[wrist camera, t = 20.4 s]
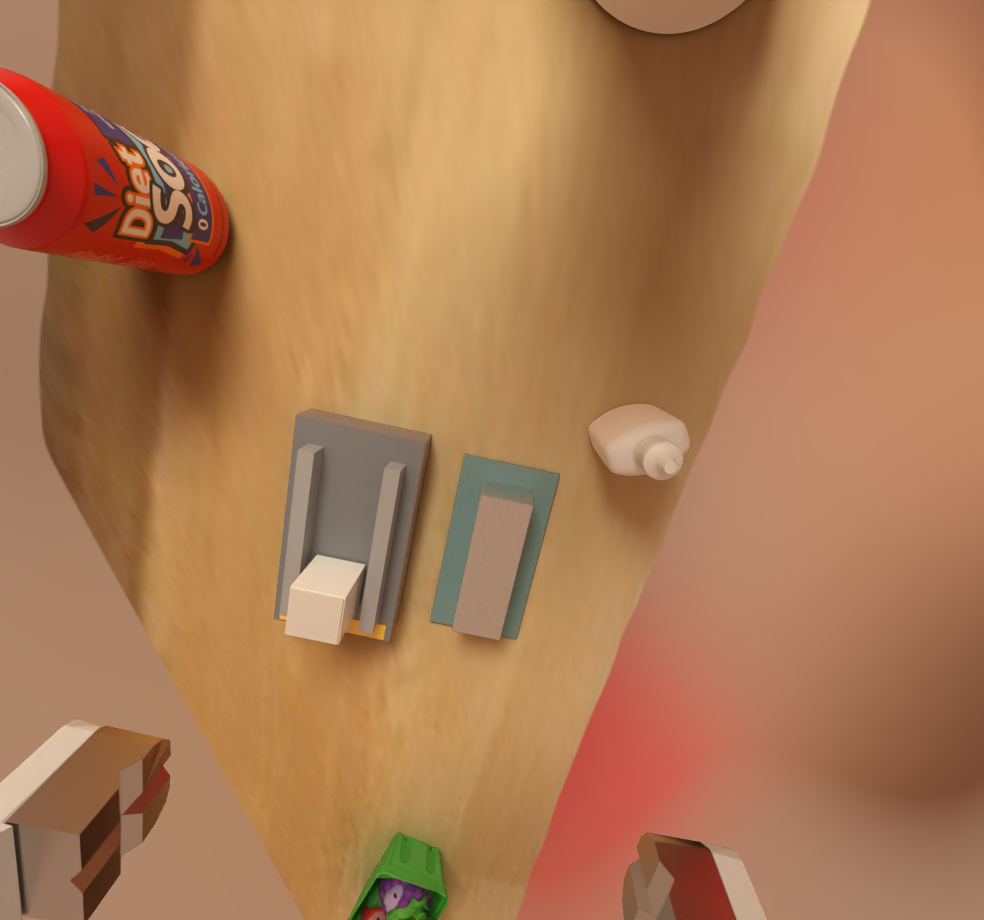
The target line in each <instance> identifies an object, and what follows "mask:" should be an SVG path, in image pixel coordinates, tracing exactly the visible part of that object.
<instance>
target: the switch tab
mask: <svg viewBox="0 0 984 920" xmlns="http://www.w3.org/2000/svg"><path fill="white" fill-rule="evenodd" d="M364 571H365V564H360V563H355V562H351V561H346V560H341V559H336V558H332V557H327V556H322V555H316V556H315V558H314V559H313V560H312V561H311V562H310V564H309V565H308V566H307V567H306V568H305V569H304V571H303V572H302V573H301V574H300V575H299V577H298V578H297V579H296V580H295V581H294V583H293V584H292V585H291V587H290V596H289V604H288V613H287V621H286V630H285V634H286V635H291V636H296V637H301V638H306V639H311V640H316V641H321V642H325V643H330V644H335V645H337V644H339V643H340V641H341V639H342V637H343V635H344V634H345V632H346V630H347V628H348V626H349V624H350V622H351V621H352V619H353V617H354V615H355V613H356V611H357V609H358V607H359V602H360V596H361V590H362V584H363V577H364Z"/></svg>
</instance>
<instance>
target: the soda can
mask: <svg viewBox="0 0 984 920" xmlns="http://www.w3.org/2000/svg"><path fill="white" fill-rule="evenodd" d="M228 233H229V218H228V212H227V208H226V205H225V202H224V200H223V197H222V195H221V193H220V192H219V190H218V188H217V187H216V185H215V184H214V183H213V181H212V180H211V179H210V178H209V177H208V176H207V175H206V174H205V173H204V172H203V171H201V170H200V169H199V168H197V167H196V166H194V165H193V164H191V163H189V162H188V161H186V160H184V159H182V158H180V157H178V156H177V155H175V154H173V153H171V152H169V151H167V150H165V149H163V148H161V147H159V146H158V145H156V144H154V143H152V142H150V141H148V140H146V139H144V138H142V137H140V136H138V135H137V134H135V133H133V132H131V131H129V130H127V129H125V128H123V127H121V126H119V125H118V124H116V123H114V122H112V121H110V120H108V119H106V118H104V117H102V116H100V115H99V114H97V113H95V112H93V111H91V110H89V109H87V108H85V107H83V106H81V105H80V104H78V103H76V102H74V101H72V100H70V99H68V98H66V97H64V96H62V95H61V94H59V93H57V92H55V91H53V90H51V89H49V88H47V87H45V86H43V85H42V84H40V83H38V82H36V81H34V80H32V79H30V78H28V77H26V76H23V75H21V74H19V73H16V72H13V71H10V70H7V69H2V68H0V243H1V244H4V245H6V246H10V247H13V248H18V249H23V250H29V251H35V252H41V253H47V254H53V255H59V256H65V257H71V258H77V259H83V260H89V261H95V262H101V263H107V264H113V265H120V266H126V267H132V268H138V269H144V270H150V271H156V272H162V273H168V274H176V275H190V274H195V273H199V272H202V271H204V270H206V269H207V268H209V267H210V266H212V265H213V264H214V263H215V262H216V261H217V260H218V258H219V257H220V256H221V254H222V252H223V250H224V248H225V246H226V243H227V239H228Z"/></svg>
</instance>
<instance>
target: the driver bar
mask: <svg viewBox="0 0 984 920" xmlns="http://www.w3.org/2000/svg"><path fill="white" fill-rule="evenodd" d="M532 509H533V501H532V494H531V489H528V488H524V487H519V486H514V485H510V484H505V483H500V482H495V481H491V480H486V479H484V481H483V485H482V490H481V494H480V499H479V504H478V508H477V513H476V517H475V522H474V526H473V531H472V536H471V540H470V545H469V549H468V554H467V558H466V563H465V568H464V572H463V577H462V581H461V586H460V590H459V595H458V600H457V604H456V610H455V615H454V620H453V626H452V631H456V632H461V633H466V634H471V635H476V636H481V637H485V638H490V639H495V640H500V636H501V632H502V628H503V624H504V620H505V616H506V612H507V608H508V604H509V600H510V596H511V592H512V588H513V584H514V580H515V577H516V573H517V569H518V565H519V561H520V557H521V553H522V549H523V545H524V541H525V537H526V533H527V529H528V525H529V521H530V517H531V513H532Z"/></svg>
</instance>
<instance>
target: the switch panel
mask: <svg viewBox="0 0 984 920" xmlns="http://www.w3.org/2000/svg"><path fill="white" fill-rule="evenodd" d="M431 436H432V435H431V434H426V433H422V432H417V431H412V430H408V429H403V428H399V427H394V426H389V425H385V424H380V423H375V422H371V421H366V420H362V419H357V418H352V417H348V416H343V415H339V414H334V413H329V412H325V411H320V410H315V409H309V410H307V411H304V412H302V413H299V414H297V415H296V419H295V428H294V438H293V447H292V456H291V465H290V474H289V484H288V493H287V502H286V511H285V521H284V530H283V539H282V548H281V557H280V567H279V576H278V585H277V594H276V604H275V613H274V619H277V620H282V621H287V613H288V604H289V596H290V587H291V585H292V584H293V583H294V581H295V580H296V579H297V578H298V577H299V575H300V574H301V573H302V572H303V571H304V569H305V568H306V567H307V566H308V565H309V564H310V562H311V561H312V560H313V559H314V558H315V556H316V555H322V556H327V557H332V558H336V559H341V560H346V561H351V562H355V563H360V564H365V571H364V577H363V584H362V590H361V596H360V602H359V607H358V609H357V611H356V613H355V615H354V617H353V619H352V621H351V622H350V624H349V626H348V628H347V630H346V632H345V634H350V635H355V636H360V637H364V638H369V639H374V640H379V641H384V642H389V641H390V639H391V636H392V633H393V631H394V628H395V626H396V623H397V618H398V613H399V607H400V602H401V597H402V591H403V586H404V581H405V575H406V570H407V565H408V559H409V554H410V548H411V543H412V538H413V532H414V527H415V522H416V516H417V511H418V505H419V500H420V495H421V489H422V484H423V479H424V473H425V468H426V462H427V457H428V452H429V446H430V441H431Z"/></svg>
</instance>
